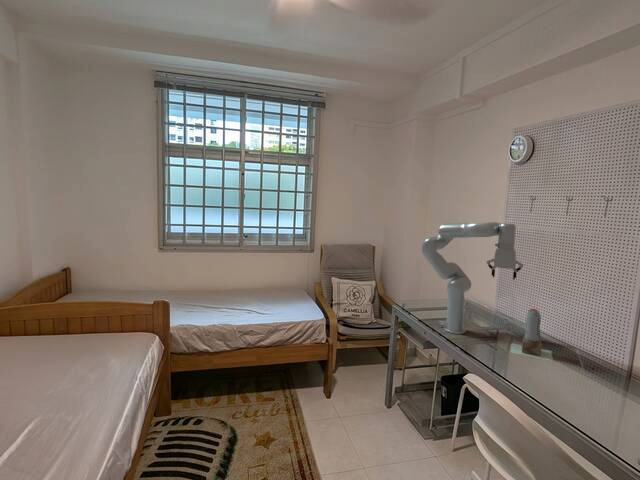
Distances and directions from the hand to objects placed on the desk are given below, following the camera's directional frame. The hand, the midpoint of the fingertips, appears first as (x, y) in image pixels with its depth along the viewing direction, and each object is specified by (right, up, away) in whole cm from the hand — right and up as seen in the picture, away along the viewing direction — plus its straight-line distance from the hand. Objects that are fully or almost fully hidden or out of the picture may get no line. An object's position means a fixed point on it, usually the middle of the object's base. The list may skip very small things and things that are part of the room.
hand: (503, 278), depth 183 cm
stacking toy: (+19, -36, +6) cm, 41 cm away
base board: (+9, -38, -9) cm, 40 cm away
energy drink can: (+9, -31, -10) cm, 34 cm away
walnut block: (+9, -37, -9) cm, 39 cm away
